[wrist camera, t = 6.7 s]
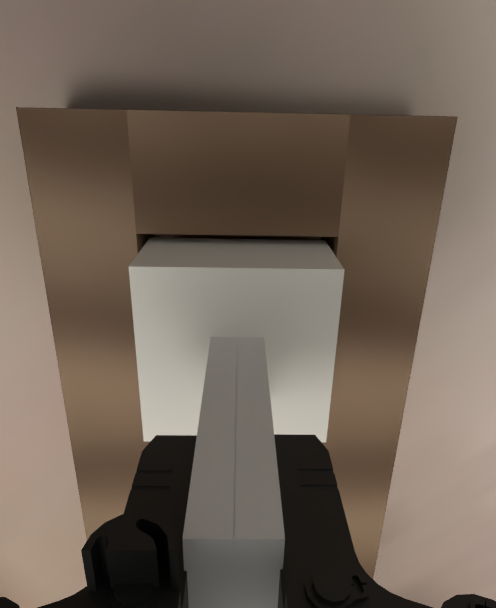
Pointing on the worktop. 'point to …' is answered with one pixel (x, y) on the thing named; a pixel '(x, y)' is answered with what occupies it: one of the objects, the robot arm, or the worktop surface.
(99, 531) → the robot arm
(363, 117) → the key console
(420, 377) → the worktop surface
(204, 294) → the white key
